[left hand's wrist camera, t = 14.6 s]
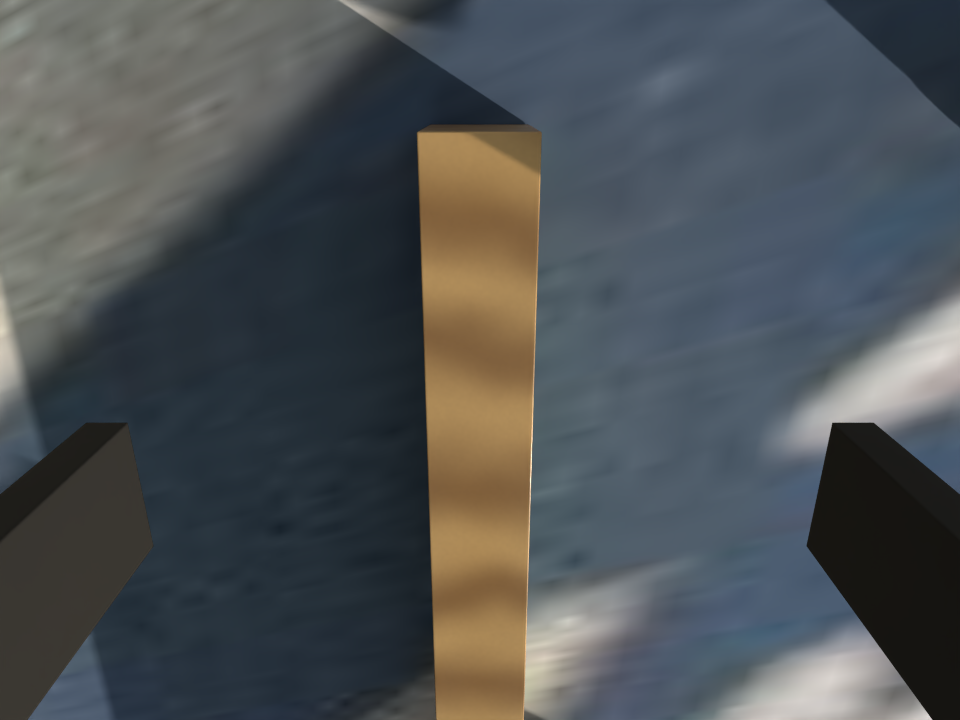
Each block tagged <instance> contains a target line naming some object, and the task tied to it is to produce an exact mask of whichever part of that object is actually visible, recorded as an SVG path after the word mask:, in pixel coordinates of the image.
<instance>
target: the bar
mask: <svg viewBox="0 0 960 720" xmlns="http://www.w3.org/2000/svg"><path fill="white" fill-rule="evenodd" d="M541 137H542V133H541V132H540V131H539V130H537V129H535V128H533V127H532V126H530V125H528V124H497V125H429V126H427V127H425V128H424V129H422V130H420V131H418V132H417V150H418V180H419V211H420V242H421V273H422V303H423V334H424V365H425V396H426V426H427V457H428V488H429V519H430V549H431V580H432V611H433V642H434V672H435V703H436V720H524V691H525V658H526V626H527V593H528V561H529V528H530V496H531V463H532V430H533V398H534V365H535V333H536V300H537V267H538V235H539V202H540V170H541Z"/></svg>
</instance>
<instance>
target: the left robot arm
mask: <svg viewBox="0 0 960 720" xmlns="http://www.w3.org/2000/svg"><path fill="white" fill-rule="evenodd" d="M152 547H153V542H152V537H151V532H150V527H149V523H148V518H147V513H146V508H145V504H144V499H143V494H142V489H141V485H140V480H139V475H138V470H137V466H136V461H135V456H134V451H133V446H132V442H131V437H130V432H129V427H128V423H86V424H84V425H83V426H82V427H81V428H80V429H78V430H77V431H76V432H75V433H74V434H72V435H71V436H70V437H69V438H68V439H66V440H65V441H64V442H63V443H61V444H60V445H59V446H58V447H57V448H55V449H54V450H53V451H52V452H51V453H49V454H48V455H47V456H46V457H45V458H43V459H42V460H41V461H40V462H39V463H37V464H36V465H35V466H34V467H33V468H31V469H30V470H29V471H28V472H27V473H25V474H24V475H23V476H22V477H21V478H19V479H18V480H17V481H16V482H15V483H13V484H12V485H11V486H10V487H9V488H7V489H6V490H5V491H4V492H3V493H1V494H0V720H28V718H29V717H30V716H31V714H32V713H33V711H34V710H35V709H36V707H37V706H38V705H39V703H40V702H41V700H42V699H43V698H44V696H45V695H46V694H47V692H48V691H49V689H50V688H51V687H52V685H53V684H54V682H55V681H56V680H57V678H58V677H59V676H60V674H61V673H62V671H63V670H64V669H65V667H66V666H67V665H68V663H69V662H70V660H71V659H72V658H73V656H74V655H75V654H76V652H77V651H78V649H79V648H80V647H81V645H82V644H83V642H84V641H85V640H86V638H87V637H88V636H89V634H90V633H91V631H92V630H93V629H94V627H95V626H96V625H97V623H98V622H99V620H100V619H101V618H102V616H103V615H104V614H105V612H106V611H107V609H108V608H109V607H110V605H111V604H112V602H113V601H114V600H115V598H116V597H117V596H118V594H119V593H120V591H121V590H122V589H123V587H124V586H125V585H126V583H127V582H128V580H129V579H130V578H131V576H132V575H133V573H134V572H135V571H136V569H137V568H138V567H139V565H140V564H141V562H142V561H143V560H144V558H145V557H146V556H147V554H148V553H149V551H150V550H151V549H152ZM807 547H808V549H809V550H810V551H811V553H812V554H813V556H814V557H815V558H816V560H817V561H818V562H819V564H820V565H821V567H822V568H823V569H824V571H825V572H826V573H827V575H828V576H829V578H830V579H831V580H832V582H833V583H834V585H835V586H836V587H837V589H838V590H839V591H840V593H841V594H842V596H843V597H844V598H845V600H846V601H847V602H848V604H849V605H850V607H851V608H852V609H853V611H854V612H855V614H856V615H857V616H858V618H859V619H860V620H861V622H862V623H863V625H864V626H865V627H866V629H867V630H868V631H869V633H870V634H871V636H872V637H873V638H874V640H875V641H876V642H877V644H878V645H879V647H880V648H881V649H882V651H883V652H884V654H885V655H886V656H887V658H888V659H889V660H890V662H891V663H892V665H893V666H894V667H895V669H896V670H897V671H898V673H899V674H900V676H901V677H902V678H903V680H904V681H905V682H906V684H907V685H908V687H909V688H910V689H911V691H912V692H913V694H914V695H915V696H916V698H917V699H918V700H919V702H920V703H921V705H922V706H923V707H924V709H925V710H926V711H927V713H928V714H929V716H930V717H931V718H932V720H960V494H959V493H957V492H956V491H955V490H954V489H953V488H951V487H950V486H949V485H948V484H947V483H945V482H944V481H943V480H942V479H941V478H939V477H938V476H937V475H936V474H935V473H933V472H932V471H931V470H930V469H929V468H927V467H926V466H925V465H924V464H923V463H921V462H920V461H919V460H918V459H917V458H915V457H914V456H913V455H912V454H911V453H909V452H908V451H907V450H906V449H905V448H903V447H902V446H901V445H900V444H899V443H897V442H896V441H895V440H894V439H892V438H891V437H890V436H889V435H888V434H886V433H885V432H884V431H883V430H882V429H880V428H879V427H878V426H877V425H876V424H874V423H832V427H831V432H830V437H829V442H828V446H827V451H826V456H825V461H824V466H823V470H822V475H821V480H820V485H819V489H818V494H817V499H816V504H815V508H814V513H813V518H812V523H811V527H810V532H809V537H808V542H807Z"/></svg>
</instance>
